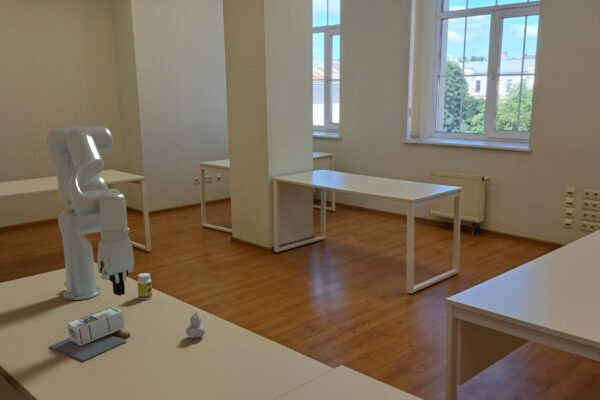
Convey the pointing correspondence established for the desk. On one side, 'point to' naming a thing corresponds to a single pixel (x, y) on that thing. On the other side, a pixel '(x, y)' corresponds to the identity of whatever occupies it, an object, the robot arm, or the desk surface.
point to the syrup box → (96, 326)
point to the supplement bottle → (144, 286)
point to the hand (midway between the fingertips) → (119, 294)
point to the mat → (87, 347)
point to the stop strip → (122, 333)
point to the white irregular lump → (195, 327)
